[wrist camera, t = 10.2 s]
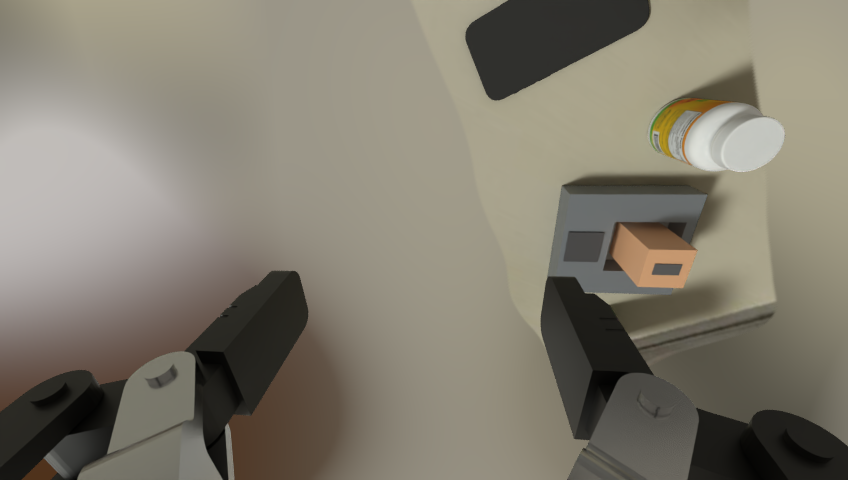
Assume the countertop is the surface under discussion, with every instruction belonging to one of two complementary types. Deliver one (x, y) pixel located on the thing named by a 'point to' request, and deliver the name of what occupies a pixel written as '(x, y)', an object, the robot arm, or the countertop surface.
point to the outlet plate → (595, 225)
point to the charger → (652, 254)
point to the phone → (545, 38)
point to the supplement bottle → (715, 134)
